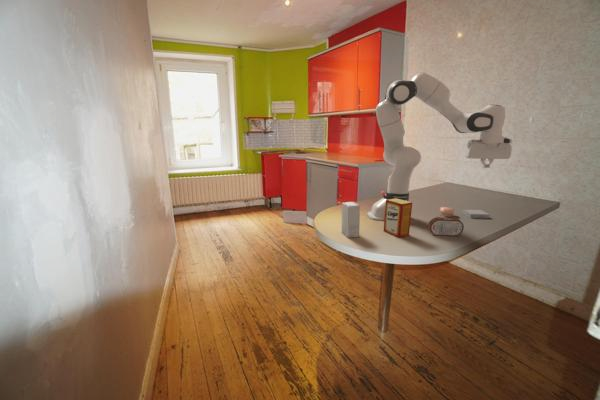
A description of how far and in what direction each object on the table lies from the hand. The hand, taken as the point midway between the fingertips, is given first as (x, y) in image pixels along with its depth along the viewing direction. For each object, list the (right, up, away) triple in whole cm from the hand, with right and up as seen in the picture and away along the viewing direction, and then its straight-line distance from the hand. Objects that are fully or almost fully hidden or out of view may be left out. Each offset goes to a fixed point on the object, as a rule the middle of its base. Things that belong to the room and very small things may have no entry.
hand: (485, 167), depth 142 cm
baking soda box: (-48, -32, -9) cm, 59 cm away
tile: (+6, -25, +14) cm, 30 cm away
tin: (-26, -33, -11) cm, 43 cm away
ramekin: (-9, -25, +20) cm, 33 cm away
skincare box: (-70, -32, -11) cm, 78 cm away
